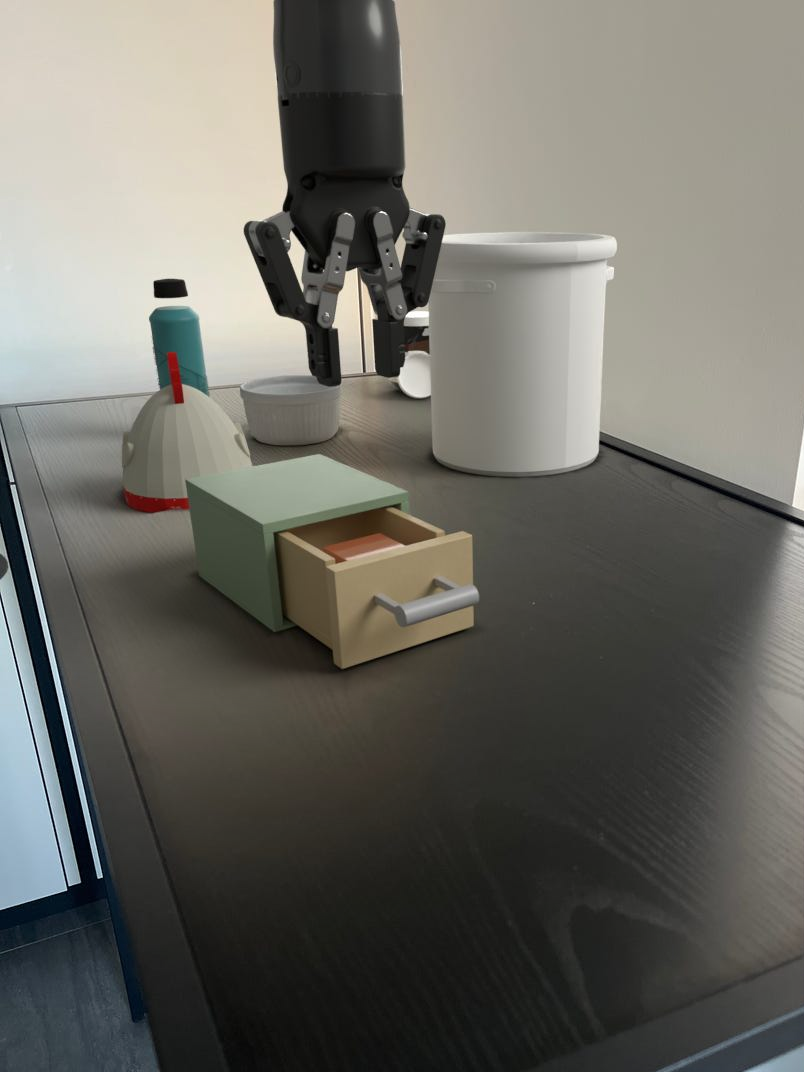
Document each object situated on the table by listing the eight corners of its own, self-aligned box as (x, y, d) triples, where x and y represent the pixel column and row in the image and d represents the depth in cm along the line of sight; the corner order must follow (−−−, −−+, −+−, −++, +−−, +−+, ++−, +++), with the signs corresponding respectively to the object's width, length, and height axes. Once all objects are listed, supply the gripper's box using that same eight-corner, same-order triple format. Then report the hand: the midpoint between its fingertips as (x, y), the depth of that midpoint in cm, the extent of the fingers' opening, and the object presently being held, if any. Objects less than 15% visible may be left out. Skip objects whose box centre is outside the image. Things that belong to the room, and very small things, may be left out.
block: (361, 630, 70) (356, 566, 68) (327, 608, 74) (322, 546, 72) (418, 613, 73) (416, 550, 71) (383, 592, 76) (379, 532, 74)
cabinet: (413, 597, 81) (408, 491, 77) (275, 638, 74) (262, 524, 70) (327, 549, 91) (319, 453, 87) (199, 580, 84) (184, 479, 80)
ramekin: (351, 424, 136) (348, 373, 133) (337, 449, 124) (333, 393, 121) (257, 425, 136) (252, 374, 133) (234, 449, 124) (227, 394, 121)
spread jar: (431, 382, 162) (429, 309, 157) (472, 392, 154) (471, 316, 149) (370, 391, 156) (366, 315, 151) (410, 403, 148) (407, 323, 143)
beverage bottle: (209, 428, 135) (188, 275, 126) (221, 438, 129) (201, 279, 121) (161, 434, 132) (136, 277, 123) (172, 445, 127) (147, 282, 118)
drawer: (510, 646, 70) (510, 551, 67) (374, 693, 64) (368, 591, 61) (379, 573, 83) (374, 491, 80) (256, 607, 77) (246, 519, 74)
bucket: (546, 426, 134) (550, 228, 123) (655, 462, 117) (671, 237, 106) (380, 453, 122) (368, 237, 111) (475, 498, 105) (472, 248, 94)
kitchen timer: (248, 471, 115) (233, 340, 108) (263, 505, 103) (247, 360, 97) (125, 483, 111) (102, 348, 105) (126, 520, 99) (99, 370, 93)
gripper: (405, 97, 65) (415, 360, 72) (202, 90, 57) (237, 385, 65) (472, 90, 59) (475, 375, 67) (258, 81, 52) (289, 404, 59)
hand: (358, 378), depth 66 cm, fingers open, 4 cm apart
